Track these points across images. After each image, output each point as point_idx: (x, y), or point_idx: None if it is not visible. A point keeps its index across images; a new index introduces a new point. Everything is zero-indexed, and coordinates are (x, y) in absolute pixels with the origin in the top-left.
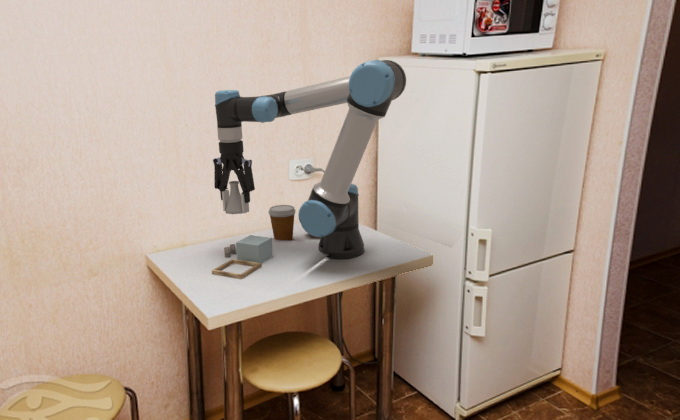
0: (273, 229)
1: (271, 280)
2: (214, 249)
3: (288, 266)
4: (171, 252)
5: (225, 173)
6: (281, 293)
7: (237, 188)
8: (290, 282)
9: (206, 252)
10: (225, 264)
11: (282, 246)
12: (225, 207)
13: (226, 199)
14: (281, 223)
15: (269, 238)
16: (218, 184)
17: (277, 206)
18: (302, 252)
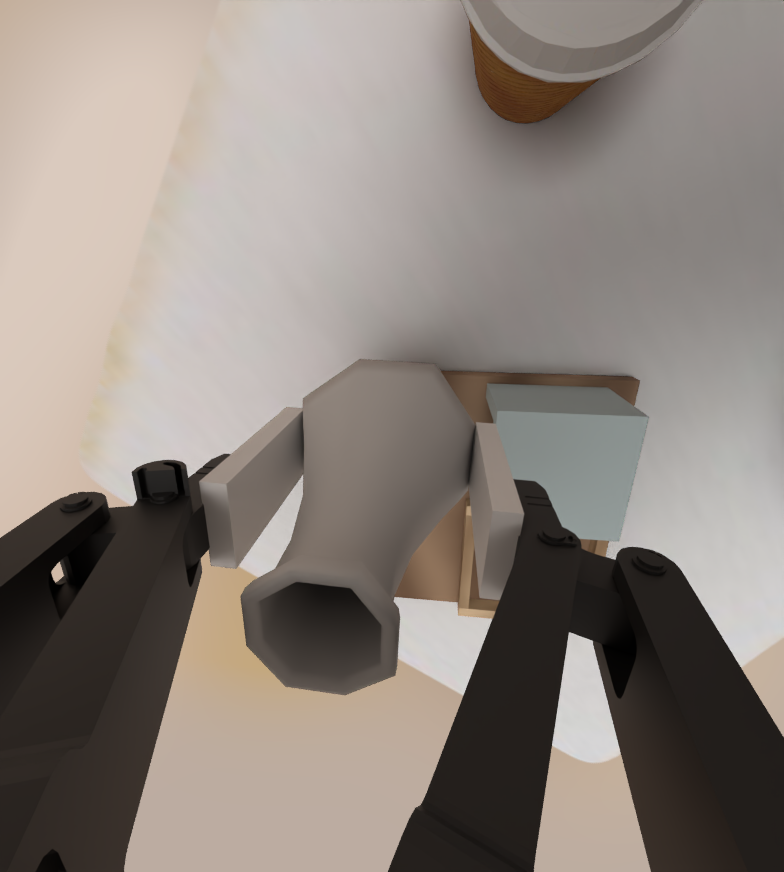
0: (501, 92)
1: (677, 563)
2: (265, 348)
3: (702, 427)
4: (140, 438)
5: (124, 839)
6: (751, 638)
7: (394, 575)
8: (760, 561)
9: (262, 393)
10: (472, 560)
11: (568, 170)
12: (296, 476)
13: (271, 486)
14: (598, 78)
15: (639, 430)
16: (72, 560)
17: None
18: (722, 223)
